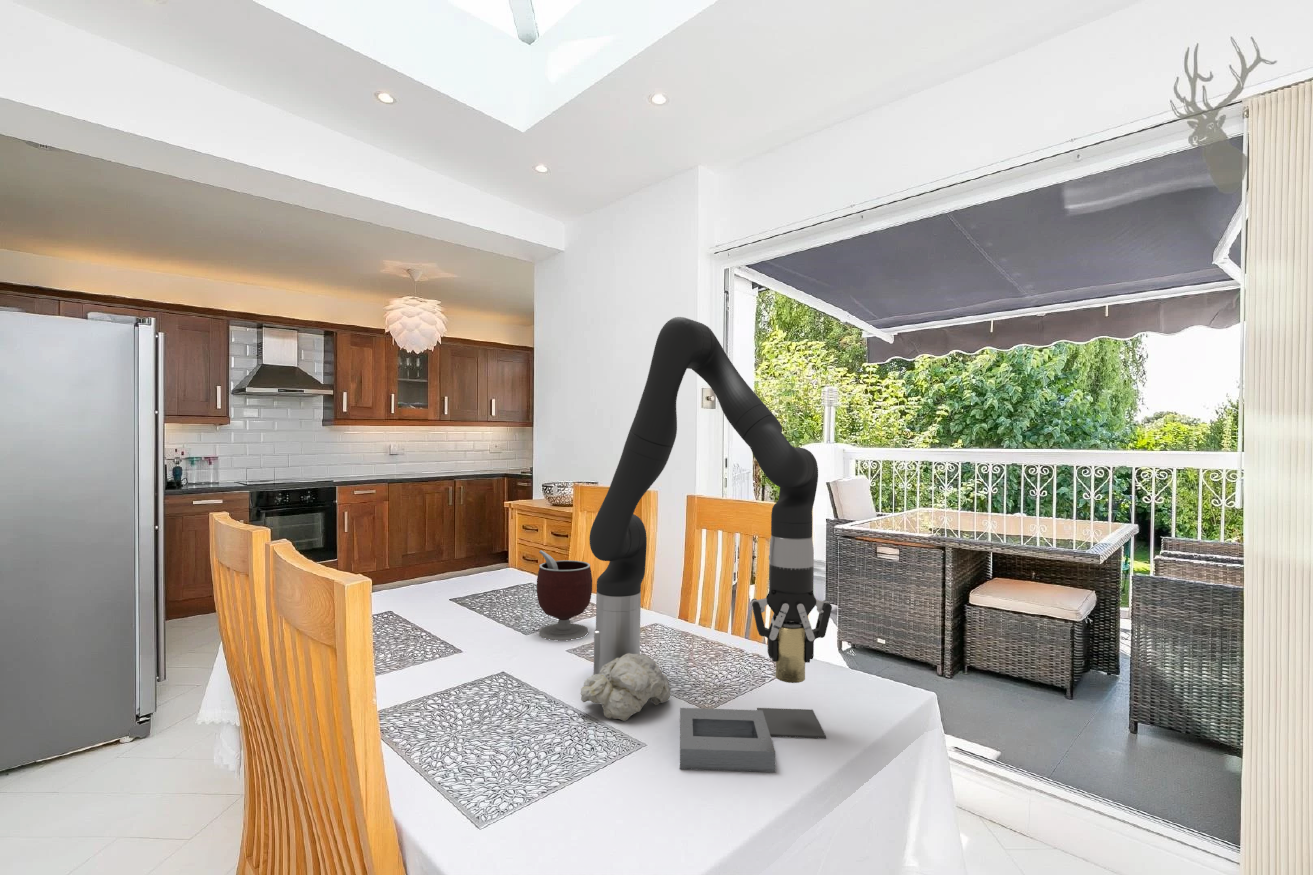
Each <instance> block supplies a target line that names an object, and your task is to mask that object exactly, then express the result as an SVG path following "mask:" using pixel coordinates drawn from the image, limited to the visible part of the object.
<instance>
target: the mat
mask: <svg viewBox="0 0 1313 875" xmlns="http://www.w3.org/2000/svg"><path fill="white" fill-rule="evenodd" d="M756 710H763V713H764V717H765V720H766V723H767V726H768V730H769V733H770V736H771V738H795V739H797V738H799V739H801V738H803V739H804V738H805V739H827V736H826V733H825V731H824V729H823V727H822V726H821V724H820V722H819V719H818V718H817V716H816V713H815V711H814V710H813V709H806V708H805V709H804V708H779V707H778V708H776V707H775V708H772V707H771V708H770V707H768V708H767V707H756Z"/></svg>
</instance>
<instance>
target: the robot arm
mask: <svg viewBox="0 0 1313 875" xmlns="http://www.w3.org/2000/svg"><path fill="white" fill-rule="evenodd" d="M687 369H690V370H692V371H693V372H694V373H696V374H697V375H698V376H699V377H700V378H702V380H704V381H705V382H706V383H707V385H708V387H709V388H710V389H711V390H712V392H713V393H714V395H715V397H716V398H717V402H719V403H718V404H719V405H720V408H721V410H722V412H723V415H724V417H725V418H726V420H727V422H728V423H729V424H730V425H731V427H732V428H733V430H735V432H736V433H737V434H738V435H739V437H740V438H741V439H742V440H743V441H744V442H745V444H746V445H747V446H749V448H750V450H751V453H752V455H753V457H754V459H755V460H756V462H757V464H758V466H759V467H760V469H761V471H762V472H763V474H764V476H766V478H767V479H768V480H769V481H771V483H773V484H774V485H775V486H777V487H779V495H778V500H777V501H776V502H775V504H774V505H773V506H772V507H771V508H772V509H771V514H770V517H771V518H770V520H771V521H770V526H771V528H770V544H769V551H768V552H769V554H768V561H769V562H768V564H769V568H768V569H769V570H768V571H769V574H768V578H769V579H768V588H769V589H768V593H767V595H766V597H765V598H760V599H757V598H752V599H751V600H750V604H751V608H752V612H753V616H754V617H753V618H754V621H755V625H756V630H757V633H758V634H759V636H761V637H764V638H767V654H768V657H769V658H770V659H771V662H773V663H776V662H777V640H776V637H777V635H778V632H779V629H780V628H781V626H782V624H783V622H790V621H793V622H801V621H802V624H803V627H804V629H805V663H810V662H811V660H813V658H814V657H815V655H814V653H815V651H814V650H815V647H814V646H815V640H816V639H819V638H820V639H821V638H825V637H826V634H827V629H828V625H829V621H830V617H831V613H832V609H833V605H832V604H831V603H830V602H829V601H828V600H826V599H825V600H820V599H816V597H815V593H814V583H815V581H814V573H815V571H814V570H815V568H814V567H815V566H814V564H815V561H814V560H815V559H814V558H815V557H814V555H815V554H814V553H815V552H814V550H815V548H814V543H813V542H814V541H813V509H814V503H815V500H816V499H815V498H816V493H817V488H818V482H819V467H818V461H817V459H816V457H815V455H814V454H813V452H811V450H808V449H807V448H805V447H804V448H803V447H798V446H796V447H795V446H793V445H792V444H791V443H790V442H789V441H788V440H787V438H786V437H785V435H784V434H783V433H782V432H783V426H782V424H781V422H780V421H779V420H778V418H777V417H776V416H775V415H774V413H773V412H772V411H771V410H770V409H769V408H768V406H766V404H765V402H763V401H762V400H761V398H759V396H758V395H757V394H756V393H755V392H754V391H753V389H752V388H751V387H750V386H749V384H748V383H747V382H746V381H745V380H744V378H743V377H742V376H741V374H740V373H739V371H738V370H737V368H736V366H735V365H734V364H733V363H732V361H731V360H730V357H729V356H728V355H727V353H726V352H725V350H724V348H723V346H722V344H721V343H720V341H719V339H718V338H717V336H716V335H715V334H714V332H713V330H712V329H711V328H710V327H709V326H707V324H704V323H702V322H700V321H696V320H693V319H691V318H686V317H683V316H677V317H672V318H671V319H669V320H667V321H666V323H665V324H663V326H662V327H661V329H660V331H659V333H658V335H657V338H656V342H655V345H654V349H653V353H652V358H651V363H650V366H649V370H648V374H647V378H646V382H645V384H644V389H643V392H642V394H641V398H640V401H639V404H638V406H637V410H636V413H635V416H634V418H633V421H632V423H631V426H630V427H629V428H630V429H629V431H628V433H627V434H628V435H627V437H626V440H625V442H624V446H623V448H622V452H621V456H620V458H619V461H618V463H617V467H616V469H615V472H614V474H613V478H612V480H611V482H610V486H609V488H608V490H607V492H606V494H605V498H604V500H603V501H602V504H601V506H600V507H599V510H598V512H597V514H596V517H595V518H594V520H593V523H592V525H591V527H590V532H589V538H588V539H589V547H590V550H591V553H592V554H593V556H594V557H595V558H596V559H598V560H600V561H603V562H609V563H608V565H607V567H606V568H605V570H604V571H603V572H602V573H601V574H600V575H599V576H598V577H597V579H596V596H595V600H596V602H595V603H596V604H595V607H596V608H595V629H594V632H593V633H594V634H593V635H594V636H593V675H595V674H599V672H600V670H601V668H602V666H604V665H605V664H607V663H609V662H611V661H613V660H614V659H616V658H621V657H622V656H623V655H625V654H628V653H630V654H640V655H641V604H642V603H641V602H642V601H641V600H642V599H641V598H642V597H641V596H642V593H641V592H642V588H641V587H642V582H643V581H644V578H645V574H646V564H647V563H646V562H647V540H648V539H647V538H648V537H647V530H646V527H645V524H644V522H643V520H642V519H641V518H640V517H639V516H638V515H636V514H634V513H635V511H636V509H637V507H638V505H639V503H640V501H641V500H642V498H643V496H644V495H645V494H646V492H647V491H648V490H649V489H650V488H651V487H652V485H653V484H654V483H655V481H657V480H658V478H659V477H660V475H661V474H662V472H663V471H664V469H665V467H666V465H667V463H668V461H669V458H670V455H671V453H672V450H673V448H674V445H675V442H676V438H677V434H678V433H677V431H678V420H677V418H678V417H677V416H678V415H677V413H678V412H677V401H678V400H677V398H678V394H679V390H680V387H681V383H682V381H683V379H684V377H685V376H684V375H685V373H686V372H687ZM766 606H768V607H769V608H770V609H771V611H772V613H773V615H772V617H771V620H770V624H769V626H768V628H767V627H766V626H765V622H764V619H763V613H764V612H765V610H766ZM815 607H816V611H817V612H818V616H817V619H816V620H817V622H816V624H815V628H813V629H812V625H811V623H810V620H809V615H810V613H811V612H812V611H813V609H814V608H815Z"/></svg>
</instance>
